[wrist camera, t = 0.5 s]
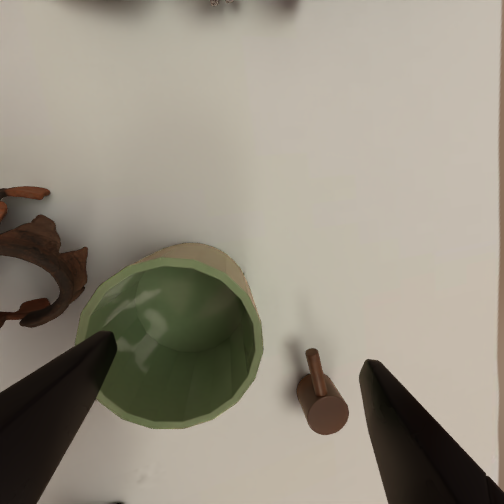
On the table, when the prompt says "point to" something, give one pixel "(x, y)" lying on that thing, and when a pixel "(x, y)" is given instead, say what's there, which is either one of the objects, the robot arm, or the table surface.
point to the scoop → (321, 398)
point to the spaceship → (215, 2)
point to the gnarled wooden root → (42, 261)
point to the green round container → (176, 336)
